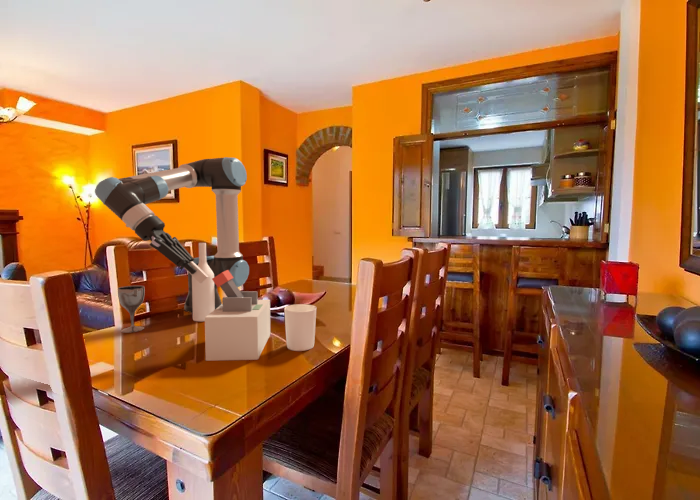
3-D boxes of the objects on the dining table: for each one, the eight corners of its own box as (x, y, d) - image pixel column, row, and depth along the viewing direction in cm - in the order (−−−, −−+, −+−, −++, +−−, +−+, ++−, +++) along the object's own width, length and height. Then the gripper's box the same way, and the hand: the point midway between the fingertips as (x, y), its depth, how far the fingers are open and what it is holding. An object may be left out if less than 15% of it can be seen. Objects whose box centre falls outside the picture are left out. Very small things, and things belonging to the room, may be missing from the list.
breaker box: (228, 335, 115) (227, 288, 114) (270, 334, 116) (269, 287, 115) (205, 360, 93) (204, 302, 92) (257, 359, 94) (257, 302, 93)
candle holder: (310, 353, 99) (310, 312, 99) (279, 350, 101) (278, 310, 100) (320, 342, 109) (320, 305, 108) (291, 339, 111) (291, 303, 110)
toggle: (238, 305, 107) (218, 275, 106) (248, 298, 107) (228, 269, 106) (233, 309, 101) (211, 278, 100) (243, 303, 101) (222, 272, 100)
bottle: (194, 316, 138) (192, 242, 135) (215, 315, 140) (214, 242, 138) (191, 322, 130) (189, 243, 128) (214, 320, 132) (212, 243, 130)
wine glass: (114, 330, 119) (112, 288, 118) (137, 325, 126) (136, 284, 125) (127, 334, 115) (125, 290, 114) (150, 328, 122) (149, 286, 121)
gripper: (147, 231, 106) (203, 285, 109) (122, 232, 93) (186, 293, 96) (164, 214, 106) (220, 268, 109) (142, 213, 93) (205, 274, 96)
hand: (204, 279), depth 102 cm, fingers closed
